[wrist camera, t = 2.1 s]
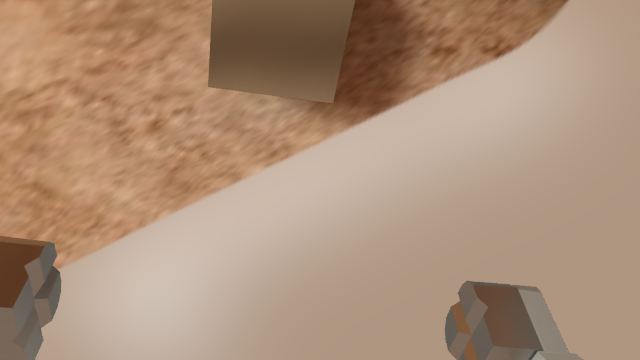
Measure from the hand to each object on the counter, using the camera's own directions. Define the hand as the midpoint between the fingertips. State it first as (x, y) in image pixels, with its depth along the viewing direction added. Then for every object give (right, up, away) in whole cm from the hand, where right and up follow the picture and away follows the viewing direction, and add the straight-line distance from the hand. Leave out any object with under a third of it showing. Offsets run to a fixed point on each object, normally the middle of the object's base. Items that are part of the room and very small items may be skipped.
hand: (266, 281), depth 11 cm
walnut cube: (-1, +10, +13) cm, 17 cm away
